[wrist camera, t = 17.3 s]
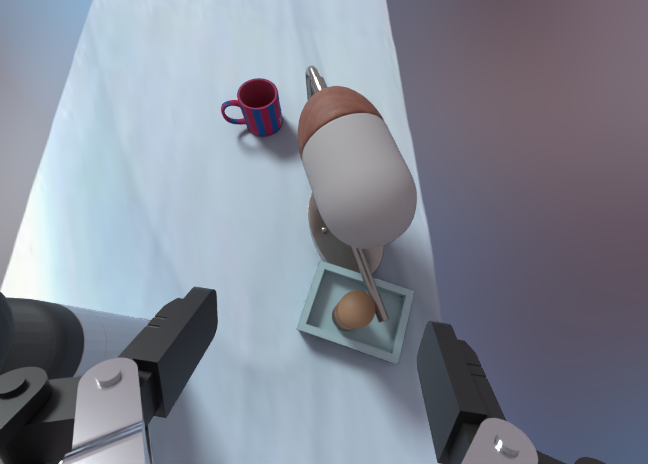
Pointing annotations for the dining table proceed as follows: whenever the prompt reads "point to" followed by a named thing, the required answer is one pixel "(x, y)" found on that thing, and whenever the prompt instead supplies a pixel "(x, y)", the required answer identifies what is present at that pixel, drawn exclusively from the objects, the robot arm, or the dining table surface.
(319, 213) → the light fixture
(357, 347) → the bin
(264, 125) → the mug
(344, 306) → the dowel
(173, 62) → the dining table surface
